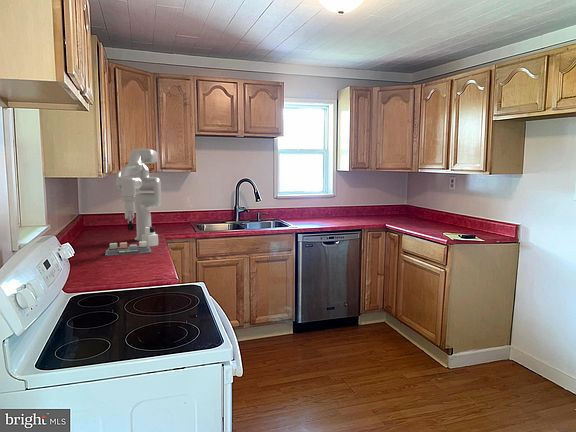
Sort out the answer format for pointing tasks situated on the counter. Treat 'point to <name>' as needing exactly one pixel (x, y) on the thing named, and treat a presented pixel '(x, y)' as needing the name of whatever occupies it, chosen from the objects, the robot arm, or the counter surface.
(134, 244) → the slate key
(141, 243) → the cream key
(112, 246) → the sage key
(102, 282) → the counter surface
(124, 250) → the keypad board
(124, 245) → the terracotta key
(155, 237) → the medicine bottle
